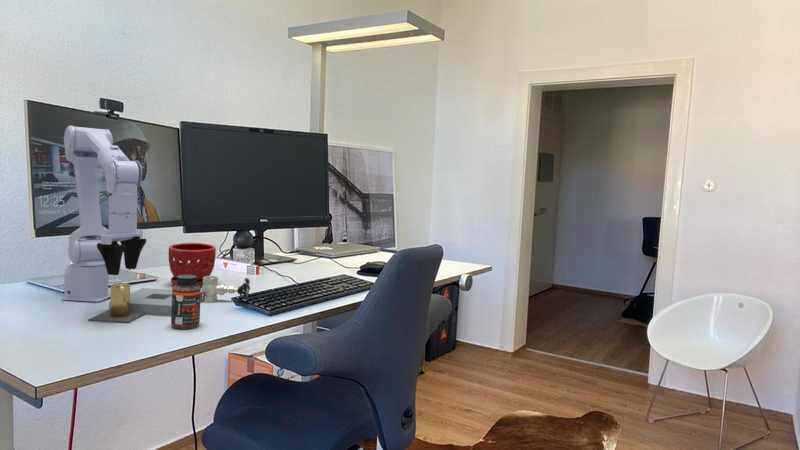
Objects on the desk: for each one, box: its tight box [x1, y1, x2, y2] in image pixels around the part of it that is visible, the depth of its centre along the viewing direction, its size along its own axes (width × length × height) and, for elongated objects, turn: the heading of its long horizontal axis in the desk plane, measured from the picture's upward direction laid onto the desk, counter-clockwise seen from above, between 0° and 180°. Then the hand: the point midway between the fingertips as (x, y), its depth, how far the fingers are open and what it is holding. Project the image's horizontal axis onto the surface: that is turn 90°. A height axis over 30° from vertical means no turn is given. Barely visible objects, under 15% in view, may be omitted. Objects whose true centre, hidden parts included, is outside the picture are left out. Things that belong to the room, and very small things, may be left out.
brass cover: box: [109, 282, 131, 317], centre depth 122 cm, size 4×4×7 cm
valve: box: [201, 275, 251, 304], centre depth 142 cm, size 7×7×12 cm
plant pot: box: [168, 242, 217, 288], centre depth 158 cm, size 13×13×12 cm
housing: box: [108, 287, 203, 317], centre depth 133 cm, size 16×16×2 cm
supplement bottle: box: [170, 275, 202, 330], centre depth 118 cm, size 6×6×11 cm
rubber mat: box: [87, 309, 145, 324], centre depth 122 cm, size 9×9×1 cm
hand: (122, 271), depth 122 cm, fingers open, 7 cm apart
